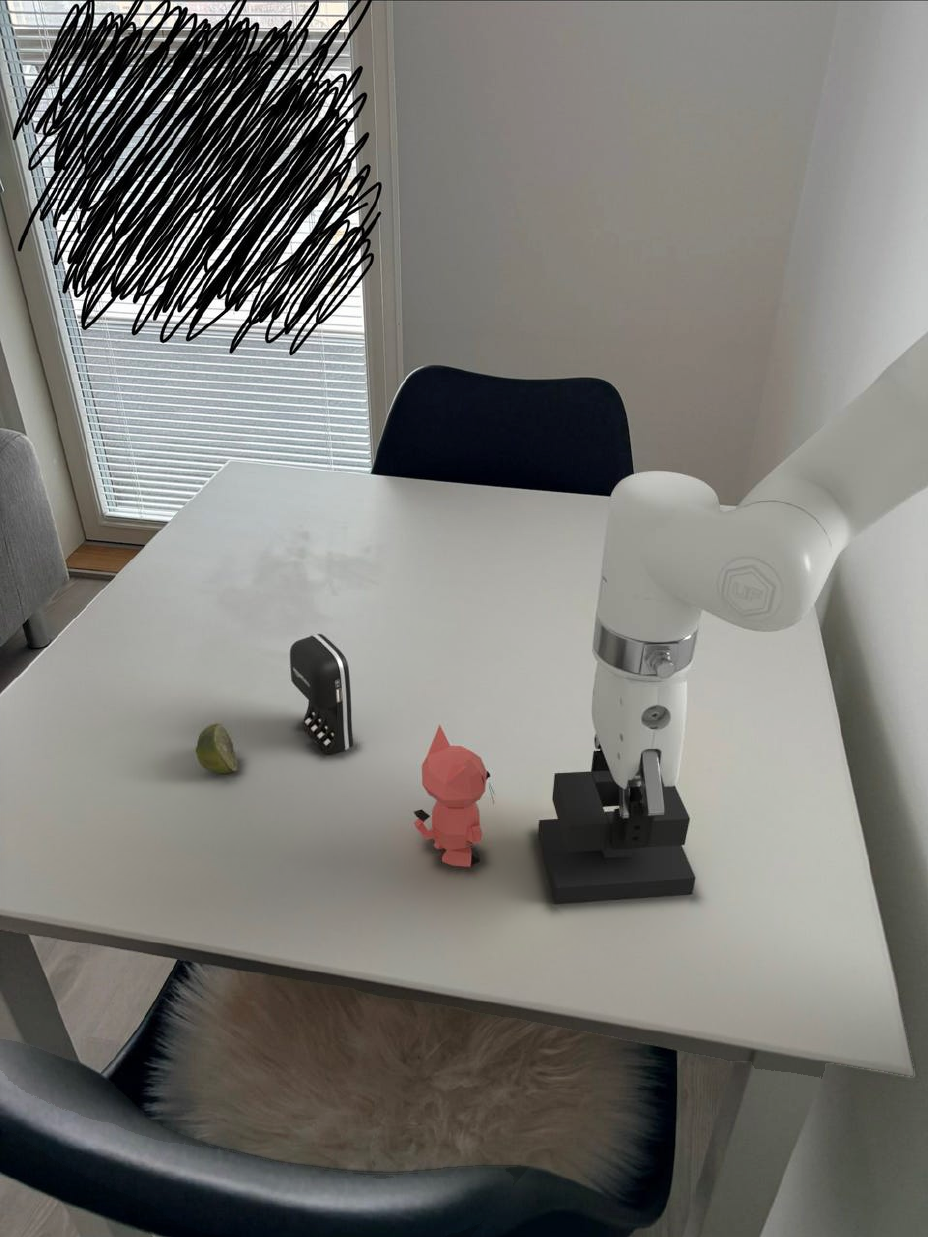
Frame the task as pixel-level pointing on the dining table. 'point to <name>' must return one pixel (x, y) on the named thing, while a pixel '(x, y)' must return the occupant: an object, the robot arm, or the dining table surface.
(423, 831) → the cat figurine
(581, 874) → the base pad
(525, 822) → the dining table surface
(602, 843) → the black socket block
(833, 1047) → the dining table surface
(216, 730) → the lime
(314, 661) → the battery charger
